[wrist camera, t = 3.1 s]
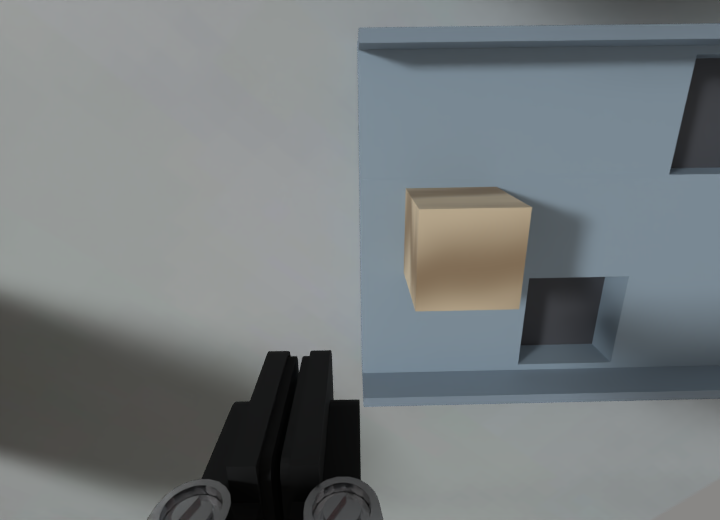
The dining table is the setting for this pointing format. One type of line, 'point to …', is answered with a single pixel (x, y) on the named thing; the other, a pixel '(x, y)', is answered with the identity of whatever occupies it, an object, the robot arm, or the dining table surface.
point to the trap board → (548, 209)
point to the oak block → (465, 248)
